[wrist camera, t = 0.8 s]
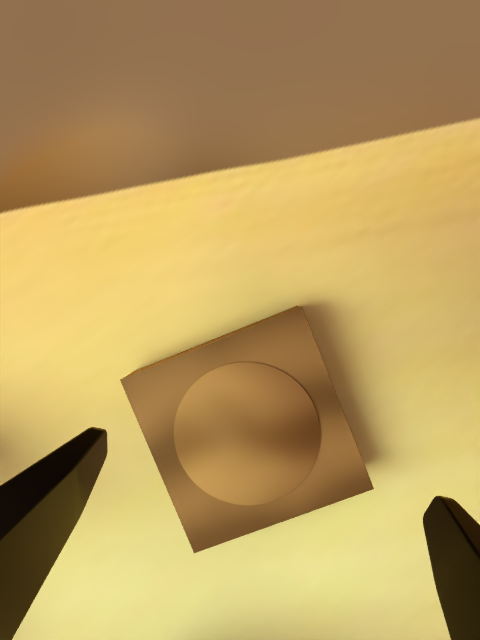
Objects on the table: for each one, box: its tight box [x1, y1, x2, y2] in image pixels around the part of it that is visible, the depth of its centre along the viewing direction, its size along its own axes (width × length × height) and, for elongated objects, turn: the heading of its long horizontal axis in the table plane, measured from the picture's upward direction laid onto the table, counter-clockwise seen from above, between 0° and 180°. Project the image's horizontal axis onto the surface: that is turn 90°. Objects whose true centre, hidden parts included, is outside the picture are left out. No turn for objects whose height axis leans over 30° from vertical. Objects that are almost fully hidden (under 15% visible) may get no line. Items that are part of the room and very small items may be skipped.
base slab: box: [120, 306, 374, 553], centre depth 22 cm, size 12×12×3 cm
